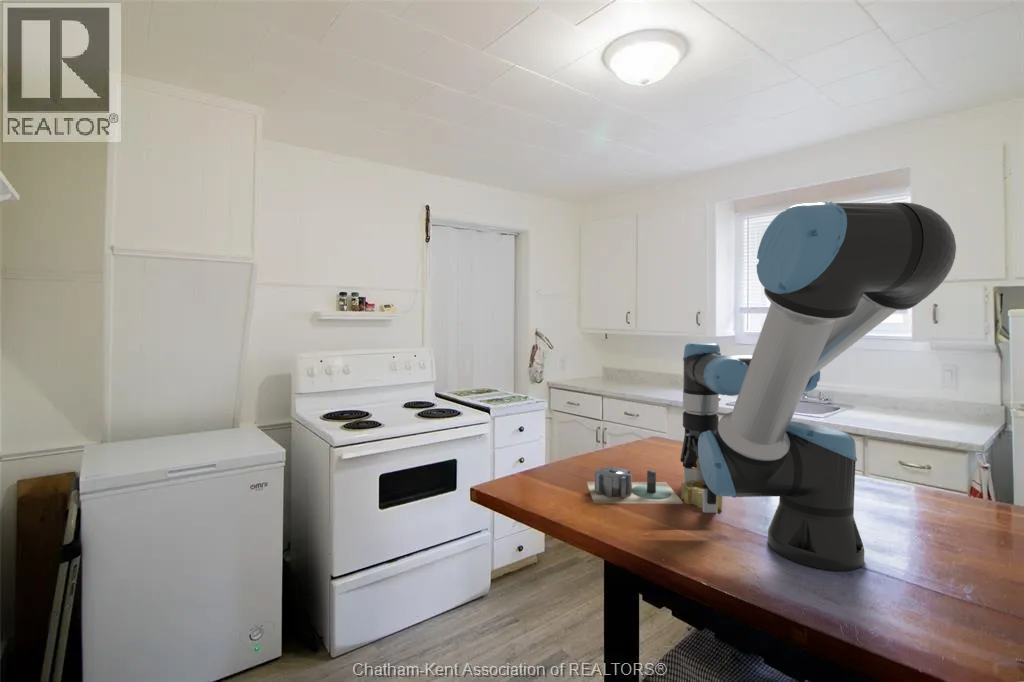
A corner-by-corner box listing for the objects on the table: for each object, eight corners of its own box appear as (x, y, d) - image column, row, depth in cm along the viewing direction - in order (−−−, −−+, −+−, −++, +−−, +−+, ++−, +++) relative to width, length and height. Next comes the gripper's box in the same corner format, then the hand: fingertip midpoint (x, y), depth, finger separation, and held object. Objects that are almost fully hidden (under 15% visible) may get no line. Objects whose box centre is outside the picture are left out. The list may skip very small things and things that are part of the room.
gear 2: (727, 514, 107) (728, 492, 106) (688, 514, 107) (689, 491, 106) (712, 500, 115) (713, 479, 115) (676, 499, 115) (677, 478, 115)
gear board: (684, 510, 109) (684, 480, 109) (594, 509, 110) (594, 480, 109) (666, 488, 123) (666, 461, 123) (586, 487, 123) (586, 461, 123)
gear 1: (634, 498, 112) (635, 477, 112) (598, 498, 112) (598, 476, 112) (627, 485, 120) (627, 465, 120) (593, 485, 121) (593, 465, 120)
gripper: (741, 423, 98) (738, 529, 99) (698, 401, 122) (696, 486, 123) (703, 423, 98) (701, 529, 99) (668, 401, 122) (666, 486, 123)
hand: (698, 505), depth 111 cm, fingers open, 12 cm apart
